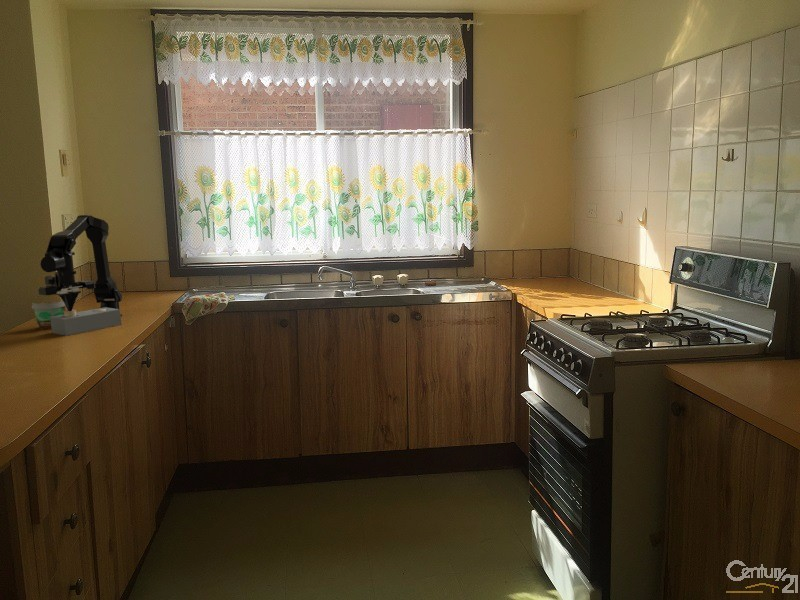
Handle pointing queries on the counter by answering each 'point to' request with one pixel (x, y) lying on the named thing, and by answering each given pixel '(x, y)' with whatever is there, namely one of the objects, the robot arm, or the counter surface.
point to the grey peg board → (85, 321)
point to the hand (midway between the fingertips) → (70, 310)
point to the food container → (47, 313)
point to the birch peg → (70, 313)
